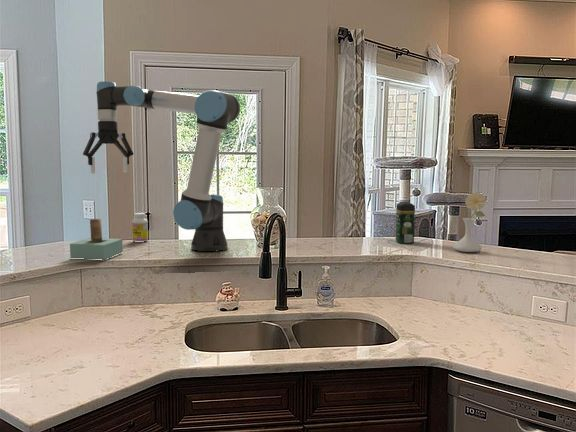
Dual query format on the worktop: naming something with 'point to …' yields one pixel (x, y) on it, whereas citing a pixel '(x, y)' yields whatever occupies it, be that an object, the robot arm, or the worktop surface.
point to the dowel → (96, 230)
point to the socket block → (96, 249)
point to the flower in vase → (467, 241)
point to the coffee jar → (405, 222)
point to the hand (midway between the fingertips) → (109, 173)
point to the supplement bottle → (140, 227)
